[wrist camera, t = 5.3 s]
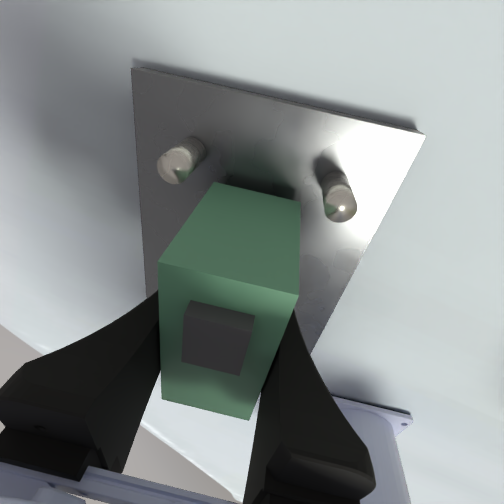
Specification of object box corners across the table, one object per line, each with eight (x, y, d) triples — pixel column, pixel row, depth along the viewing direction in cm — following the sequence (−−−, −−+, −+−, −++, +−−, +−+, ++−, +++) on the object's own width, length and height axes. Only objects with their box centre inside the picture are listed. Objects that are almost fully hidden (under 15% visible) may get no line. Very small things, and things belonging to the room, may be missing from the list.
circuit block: (264, 317, 17) (246, 435, 12) (201, 302, 17) (155, 412, 12) (300, 202, 12) (298, 311, 7) (214, 181, 12) (147, 275, 7)
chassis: (306, 349, 21) (306, 395, 18) (154, 312, 21) (131, 351, 18) (417, 130, 12) (454, 154, 9) (142, 67, 12) (92, 70, 9)
